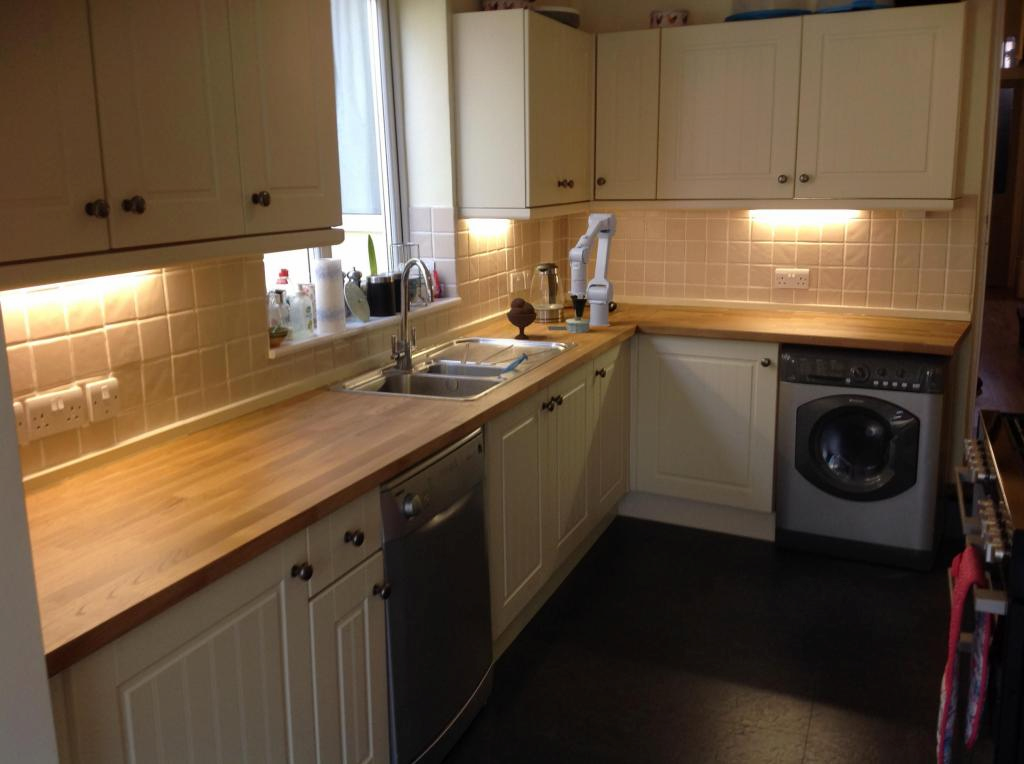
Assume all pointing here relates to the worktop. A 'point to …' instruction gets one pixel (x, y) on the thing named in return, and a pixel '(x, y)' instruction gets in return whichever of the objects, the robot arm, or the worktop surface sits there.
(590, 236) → the robot arm
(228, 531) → the worktop surface
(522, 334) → the ice cream bowl
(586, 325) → the bowl
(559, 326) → the mat
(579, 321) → the lid
